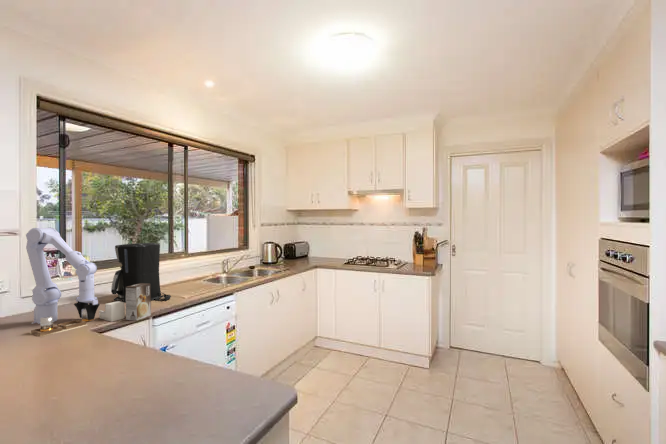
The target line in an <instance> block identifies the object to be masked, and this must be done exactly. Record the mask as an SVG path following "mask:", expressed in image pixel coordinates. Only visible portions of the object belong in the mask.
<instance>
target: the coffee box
mask: <svg viewBox="0 0 666 444" xmlns="http://www.w3.org/2000/svg"><path fill="white" fill-rule="evenodd" d="M125 290H126V302H125V320H126V321H128V320H129V321H138V320H139V321H140V320H141V319H145V318H147V317H149V316H152V303H151V301H152V300H151V292H150V284H145V283H139V284H135V285H131V286H127V287H125Z"/></svg>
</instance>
